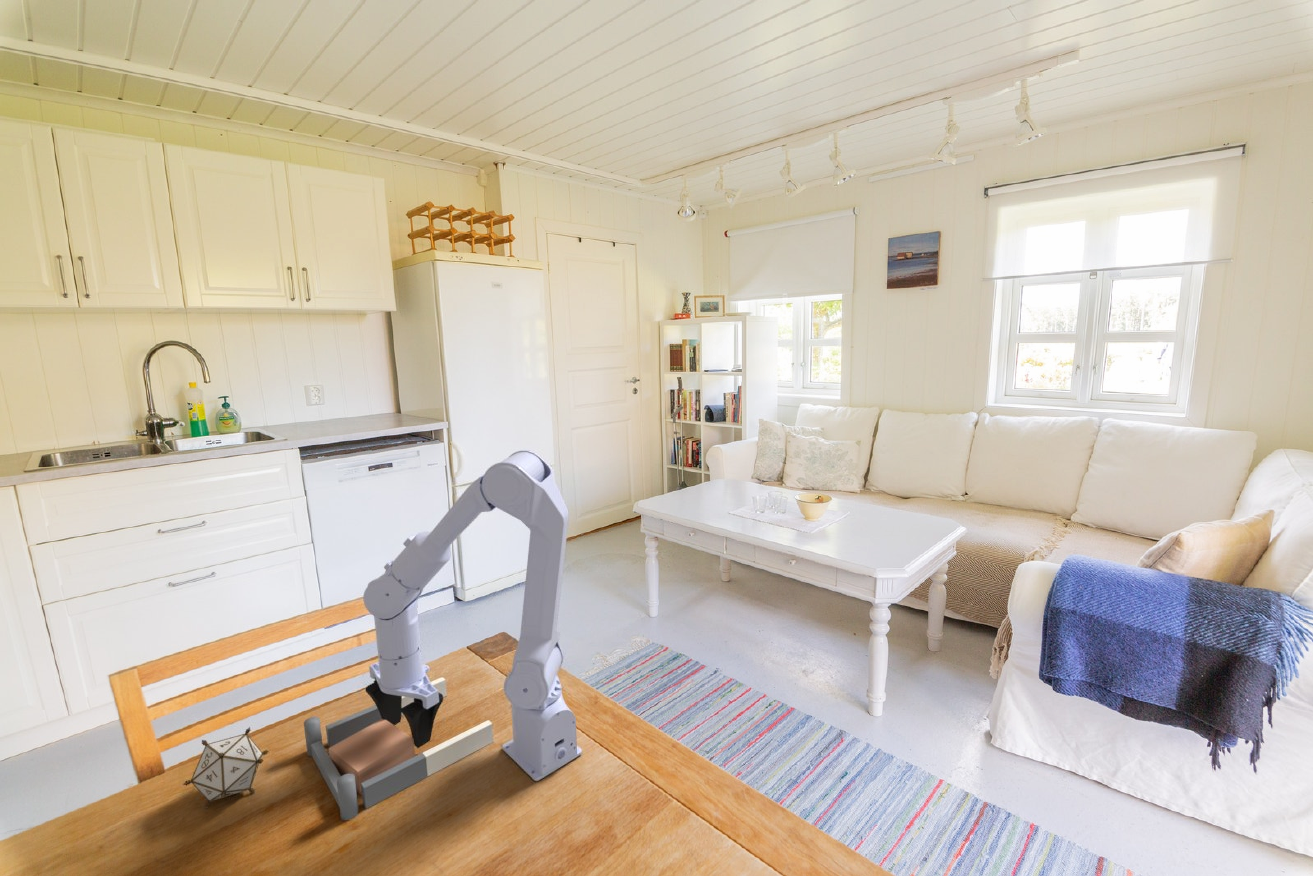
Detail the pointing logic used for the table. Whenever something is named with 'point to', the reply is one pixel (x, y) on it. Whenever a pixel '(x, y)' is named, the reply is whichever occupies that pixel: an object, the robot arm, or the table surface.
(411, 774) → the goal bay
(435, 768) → the lane walls
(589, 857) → the table surface
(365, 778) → the sliding block
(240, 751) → the game die
